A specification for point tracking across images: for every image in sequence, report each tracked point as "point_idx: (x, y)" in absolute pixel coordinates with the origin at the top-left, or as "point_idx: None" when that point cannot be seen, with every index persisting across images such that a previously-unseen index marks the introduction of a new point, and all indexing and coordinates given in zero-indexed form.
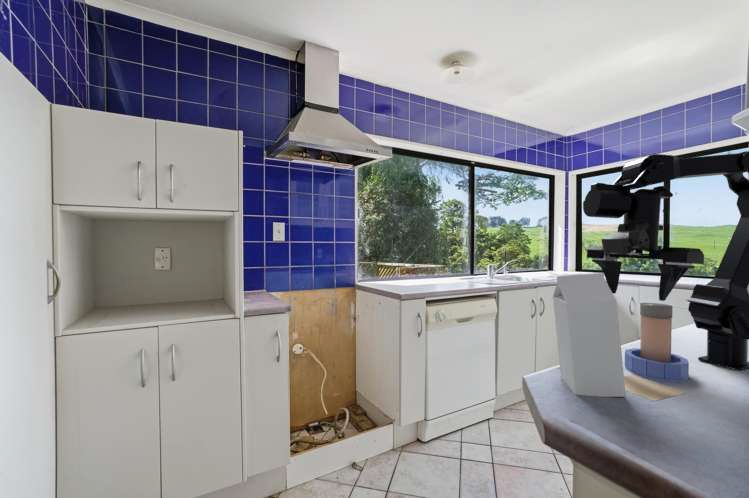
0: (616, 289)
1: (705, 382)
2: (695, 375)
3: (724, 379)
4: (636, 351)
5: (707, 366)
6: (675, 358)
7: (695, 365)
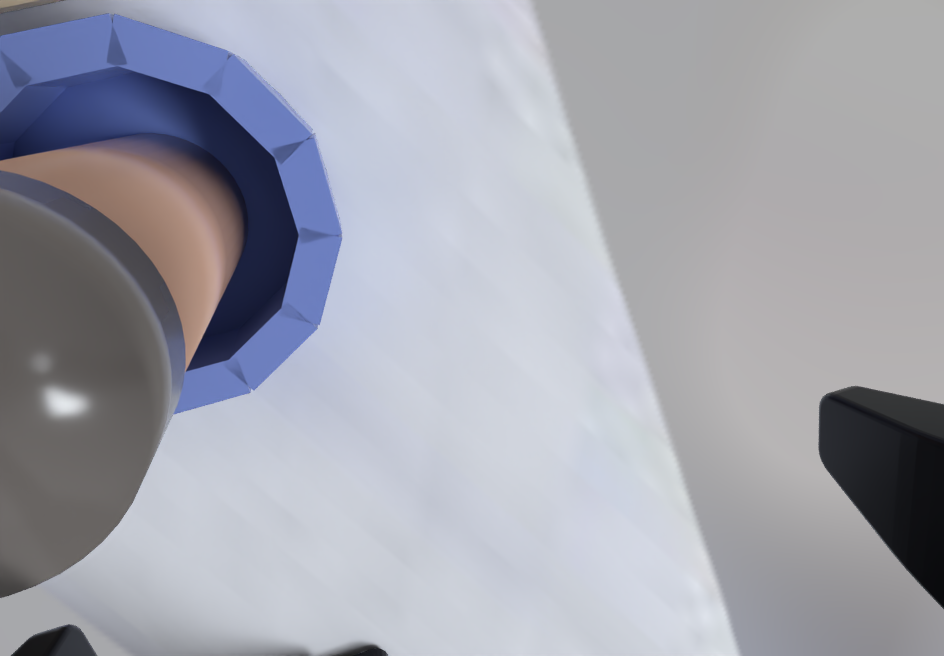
0: (865, 511)
1: None
2: None
3: None
4: (292, 213)
5: (293, 619)
6: None
7: (314, 575)
